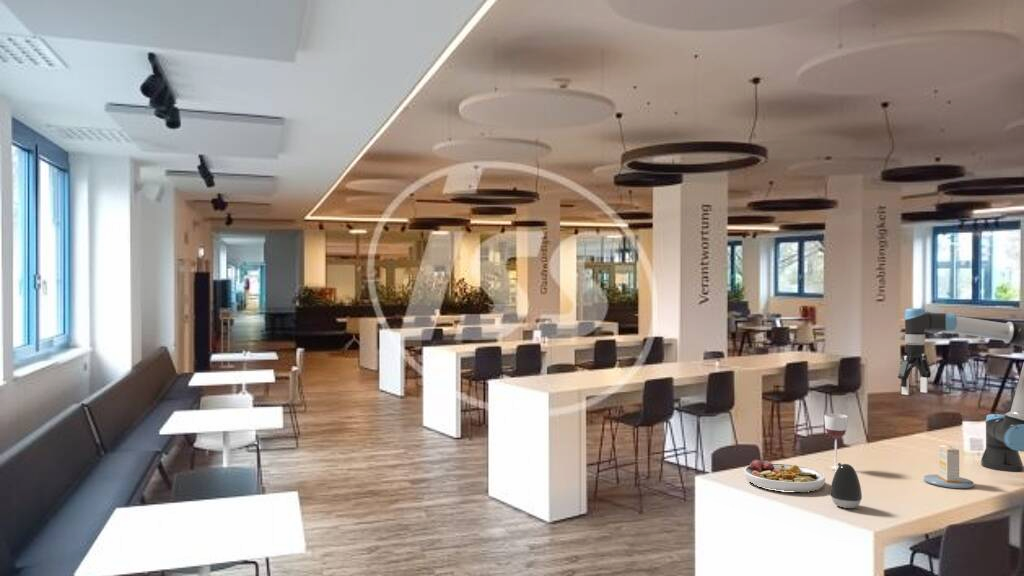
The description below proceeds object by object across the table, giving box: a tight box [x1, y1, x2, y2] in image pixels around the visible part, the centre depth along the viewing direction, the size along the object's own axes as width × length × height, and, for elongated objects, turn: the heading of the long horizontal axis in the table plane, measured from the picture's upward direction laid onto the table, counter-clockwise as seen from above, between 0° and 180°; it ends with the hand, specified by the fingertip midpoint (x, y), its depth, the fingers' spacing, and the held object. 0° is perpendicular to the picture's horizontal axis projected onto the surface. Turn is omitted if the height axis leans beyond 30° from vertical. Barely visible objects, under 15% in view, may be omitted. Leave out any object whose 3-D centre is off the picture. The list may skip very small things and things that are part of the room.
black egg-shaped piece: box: [829, 462, 863, 509], centre depth 257 cm, size 10×10×15 cm
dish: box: [923, 474, 975, 489], centre depth 289 cm, size 17×17×1 cm
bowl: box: [743, 459, 826, 493], centre depth 287 cm, size 30×30×8 cm
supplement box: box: [938, 444, 960, 483], centre depth 289 cm, size 8×5×13 cm, turn 171°
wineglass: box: [823, 413, 849, 469], centre depth 312 cm, size 9×10×23 cm
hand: (914, 393), depth 311 cm, fingers open, 13 cm apart
